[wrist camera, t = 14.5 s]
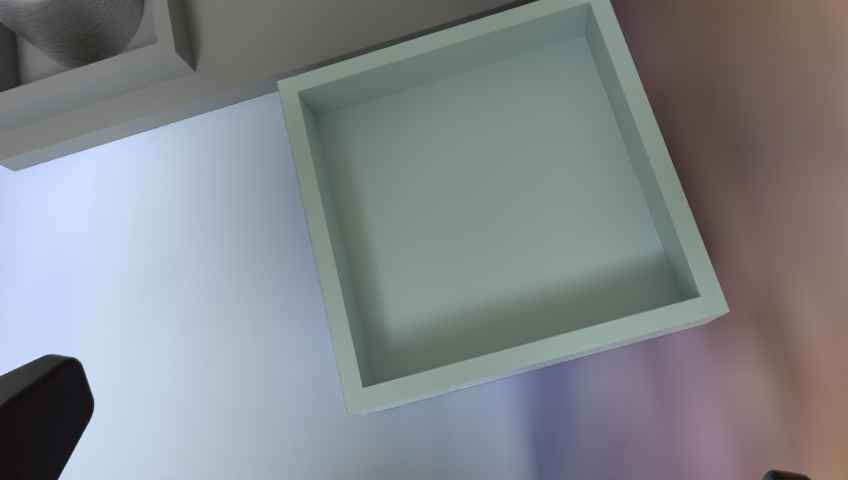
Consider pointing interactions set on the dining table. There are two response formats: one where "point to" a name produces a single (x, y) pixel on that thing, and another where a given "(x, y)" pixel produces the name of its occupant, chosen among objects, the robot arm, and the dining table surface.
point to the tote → (491, 204)
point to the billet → (74, 27)
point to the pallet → (197, 65)
